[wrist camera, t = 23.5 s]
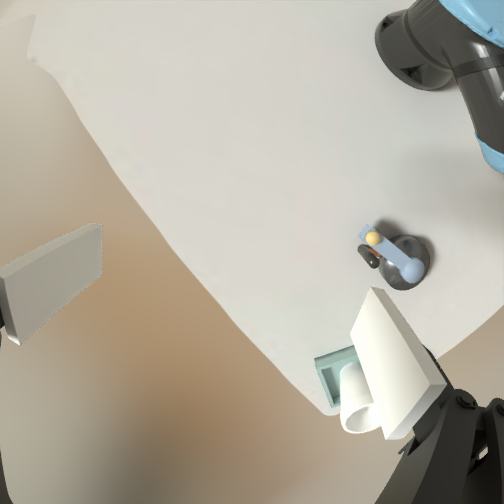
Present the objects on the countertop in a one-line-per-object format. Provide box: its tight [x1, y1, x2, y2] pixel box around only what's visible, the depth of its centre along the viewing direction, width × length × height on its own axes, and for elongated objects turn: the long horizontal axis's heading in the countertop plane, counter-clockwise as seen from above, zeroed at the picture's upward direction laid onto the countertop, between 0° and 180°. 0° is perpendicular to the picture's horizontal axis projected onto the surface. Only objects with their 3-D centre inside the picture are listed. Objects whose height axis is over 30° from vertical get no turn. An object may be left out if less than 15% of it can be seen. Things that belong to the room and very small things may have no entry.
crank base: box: [358, 235, 430, 290], centre depth 41 cm, size 12×10×6 cm
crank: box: [358, 224, 425, 283], centre depth 39 cm, size 13×4×3 cm, turn 58°
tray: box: [314, 345, 360, 408], centre depth 51 cm, size 14×14×3 cm
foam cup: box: [339, 361, 381, 433], centre depth 46 cm, size 10×9×13 cm
